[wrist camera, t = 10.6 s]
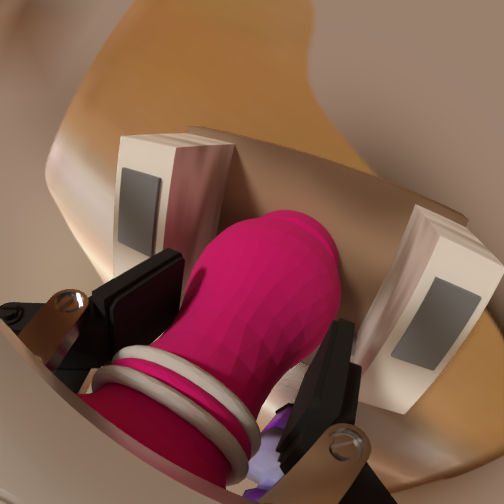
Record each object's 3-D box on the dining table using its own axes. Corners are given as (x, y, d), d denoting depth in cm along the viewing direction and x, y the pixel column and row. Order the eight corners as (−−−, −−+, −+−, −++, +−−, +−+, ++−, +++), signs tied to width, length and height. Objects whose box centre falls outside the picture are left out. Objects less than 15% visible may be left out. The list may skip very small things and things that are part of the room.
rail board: (200, 126, 19) (119, 126, 12) (461, 213, 14) (513, 259, 8) (177, 274, 24) (114, 321, 17) (385, 359, 20) (380, 440, 13)
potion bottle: (244, 399, 27) (186, 494, 16) (322, 383, 23) (278, 508, 12) (286, 446, 28) (246, 532, 17) (357, 436, 23) (331, 540, 13)
